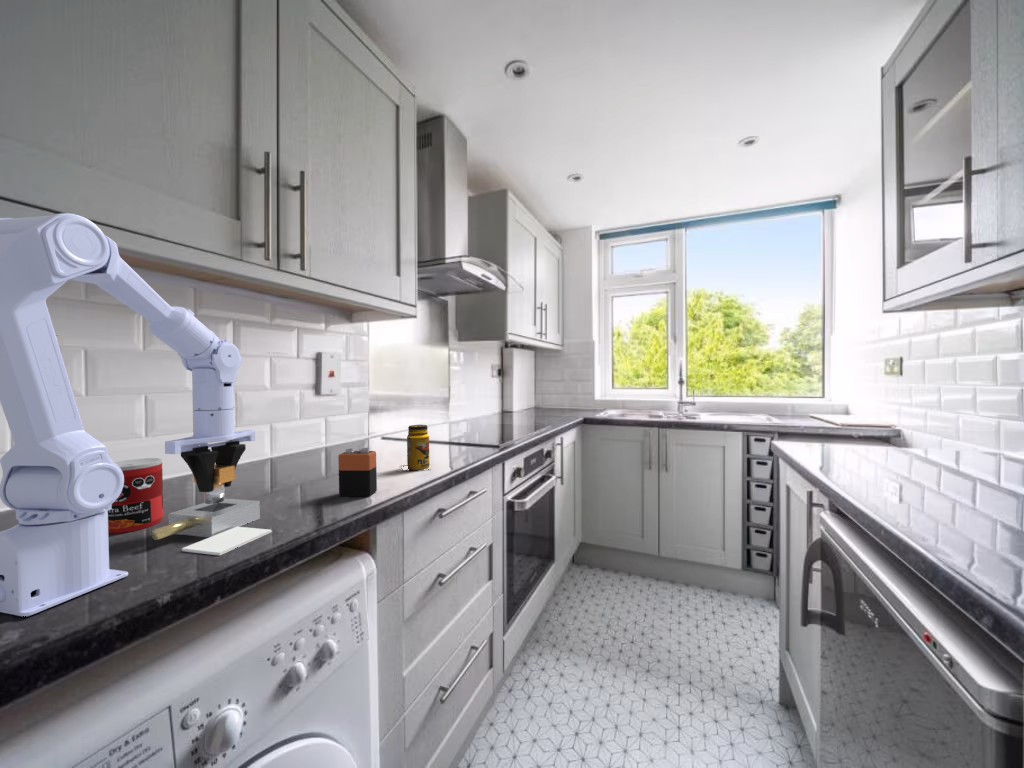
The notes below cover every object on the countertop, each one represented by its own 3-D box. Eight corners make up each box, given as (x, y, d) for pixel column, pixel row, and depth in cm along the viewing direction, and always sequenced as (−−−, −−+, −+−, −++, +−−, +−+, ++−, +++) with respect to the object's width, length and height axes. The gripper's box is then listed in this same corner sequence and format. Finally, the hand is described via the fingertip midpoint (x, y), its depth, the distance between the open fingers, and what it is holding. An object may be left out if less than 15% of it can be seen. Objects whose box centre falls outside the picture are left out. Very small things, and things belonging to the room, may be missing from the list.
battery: (369, 497, 86) (368, 450, 86) (338, 497, 86) (337, 450, 86) (377, 491, 90) (376, 446, 90) (347, 491, 91) (346, 446, 91)
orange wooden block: (235, 500, 71) (234, 465, 71) (220, 504, 68) (219, 469, 68) (209, 498, 72) (209, 464, 72) (194, 502, 69) (193, 467, 69)
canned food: (89, 536, 66) (88, 468, 66) (122, 520, 74) (120, 459, 73) (146, 531, 68) (145, 465, 68) (172, 515, 76) (171, 456, 75)
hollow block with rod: (179, 550, 60) (178, 529, 60) (133, 545, 62) (133, 524, 62) (259, 518, 73) (259, 500, 73) (220, 515, 76) (220, 498, 75)
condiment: (431, 470, 111) (430, 426, 111) (398, 472, 109) (398, 427, 109) (430, 464, 118) (430, 423, 118) (400, 466, 116) (399, 424, 116)
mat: (219, 555, 58) (219, 552, 58) (181, 551, 60) (181, 548, 60) (271, 532, 67) (271, 529, 67) (237, 528, 68) (237, 526, 68)
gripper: (233, 406, 78) (234, 477, 78) (149, 412, 64) (151, 499, 64) (263, 406, 76) (265, 479, 76) (184, 413, 62) (185, 502, 62)
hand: (215, 488), depth 70 cm, fingers closed on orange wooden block, 3 cm apart
